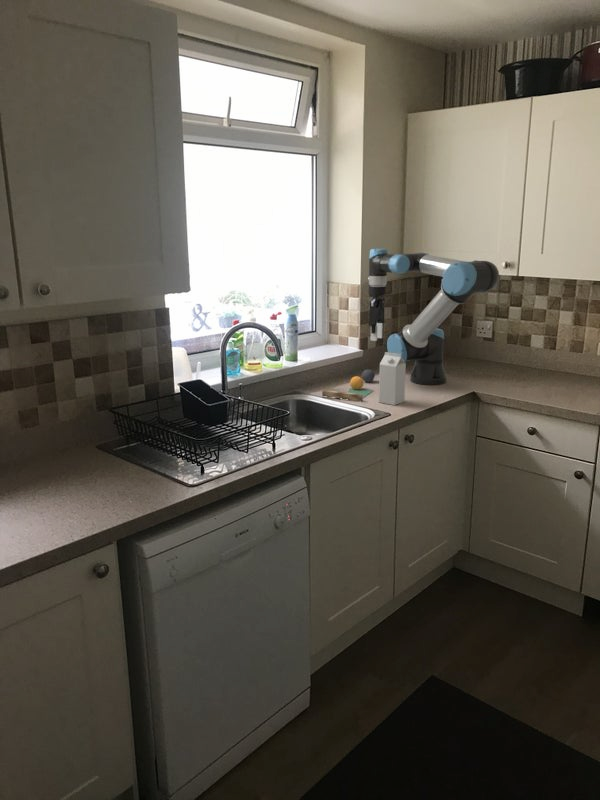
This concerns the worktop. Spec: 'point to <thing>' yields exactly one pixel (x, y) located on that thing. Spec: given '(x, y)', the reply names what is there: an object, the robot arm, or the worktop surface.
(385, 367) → the milk carton
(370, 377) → the dark gray ball
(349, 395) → the rail
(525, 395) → the worktop surface
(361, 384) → the object ball
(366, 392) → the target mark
